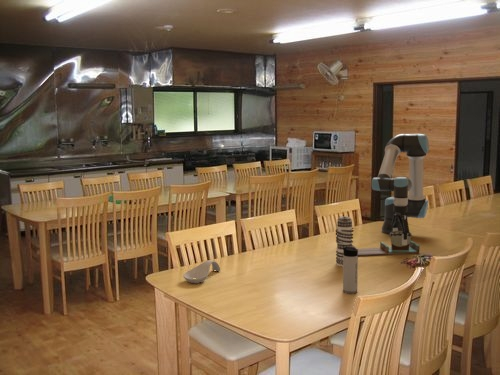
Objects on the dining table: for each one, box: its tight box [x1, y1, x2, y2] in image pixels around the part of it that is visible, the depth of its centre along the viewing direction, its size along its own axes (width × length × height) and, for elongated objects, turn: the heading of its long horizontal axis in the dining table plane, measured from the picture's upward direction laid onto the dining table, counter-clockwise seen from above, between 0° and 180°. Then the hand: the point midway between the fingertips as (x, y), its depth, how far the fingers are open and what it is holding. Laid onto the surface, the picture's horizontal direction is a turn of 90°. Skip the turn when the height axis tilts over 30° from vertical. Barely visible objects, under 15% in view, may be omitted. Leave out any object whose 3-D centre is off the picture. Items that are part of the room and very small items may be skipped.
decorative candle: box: [335, 215, 355, 268], centre depth 260 cm, size 9×9×25 cm
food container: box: [389, 231, 413, 251], centre depth 284 cm, size 12×6×10 cm, turn 86°
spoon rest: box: [183, 260, 221, 284], centre depth 244 cm, size 24×12×7 cm, turn 151°
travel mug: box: [342, 247, 359, 295], centre depth 221 cm, size 6×7×20 cm
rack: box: [352, 239, 421, 257], centre depth 283 cm, size 12×36×5 cm, turn 95°
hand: (399, 242), depth 284 cm, fingers open, 13 cm apart
